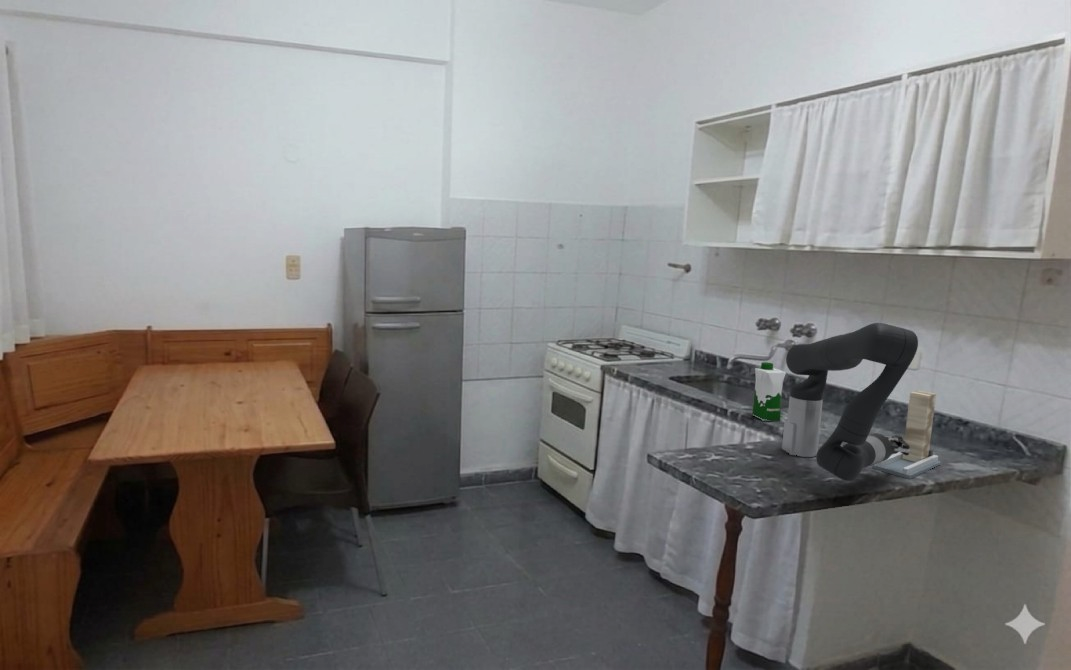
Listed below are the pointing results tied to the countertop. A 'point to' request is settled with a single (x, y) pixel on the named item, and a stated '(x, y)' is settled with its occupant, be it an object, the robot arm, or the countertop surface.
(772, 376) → the milk carton
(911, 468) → the chute
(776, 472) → the countertop surface
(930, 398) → the block
